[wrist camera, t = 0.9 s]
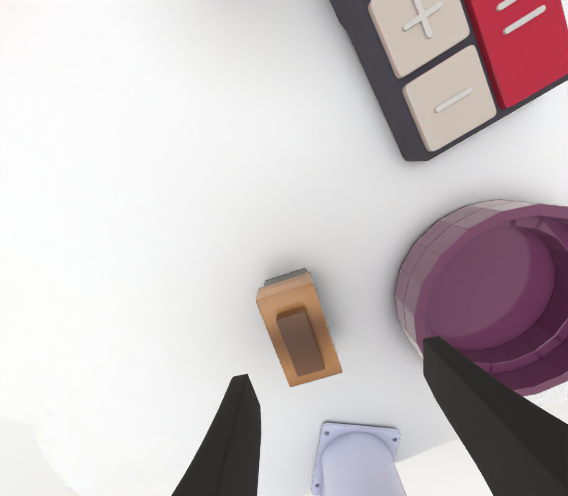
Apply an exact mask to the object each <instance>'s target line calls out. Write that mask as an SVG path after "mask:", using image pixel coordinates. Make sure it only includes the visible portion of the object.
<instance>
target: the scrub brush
mask: <svg viewBox="0 0 568 496" xmlns="http://www.w3.org/2000/svg"><path fill="white" fill-rule="evenodd" d="M256 303H257V305H258V308H259V310H260V313H261V315H262V318H263V320H264V323H265V325H266V328H267V331H268V333H269V336H270V338H271V341H272V343H273V346H274V348H275V351H276V353H277V356H278V358H279V361H280V363H281V366H282V368H283V371H284V373H285V376H286V378H287V381H288V383H289V386H290V387H293V386H297V385H300V384H304V383H307V382H311V381H314V380H318V379H321V378H325V377H328V376H332V375H335V374H339V373H342V368H341V365H340V362H339V358H338V355H337V352H336V349H335V346H334V343H333V340H332V337H331V334H330V331H329V328H328V325H327V322H326V319H325V316H324V313H323V310H322V307H321V304H320V301H319V298H318V295H317V292H316V289H315V286H314V283H313V280H312V277H311V274H310V273H307V271H306V268H304V269H301V270H297V271H294V272H291V273H288V274H285V275H282V276H279V277H276V278H273V279H269V280H266V281H265V285H264V287H262V288H259V290H258V294H257V298H256Z"/></svg>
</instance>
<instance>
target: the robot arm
mask: <svg viewBox="0 0 568 496" xmlns="http://www.w3.org/2000/svg"><path fill="white" fill-rule="evenodd" d="M423 372H424V376H425V379H426V381H427V383H428V385H429V387H430V389H431V391H432V393H433V395H434V397H435V399H436V401H437V403H438V404H439V406H440V408H441V409H442V411H443V412H444V414H445V416H446V417H447V419H448V420H449V422H450V424H451V425H452V427H453V428H454V430H455V432H456V433H457V435H458V436H459V438H460V440H461V441H462V443H463V444H464V446H465V447H466V449H467V451H468V452H469V454H470V455H471V457H472V459H473V460H474V462H475V463H476V465H477V467H478V469H479V470H480V472H481V474H482V475H483V477H484V479H485V481H486V483H487V485H488V486H489V488H490V490H491V492H492V494H493V496H568V424H566V423H565V422H563V421H561V420H560V419H558V418H556V417H555V416H553V415H551V414H549V413H548V412H546V411H545V410H543V409H541V408H540V407H538V406H537V405H535V404H533V403H532V402H530V401H529V400H527V399H526V398H524V397H523V396H521V395H520V394H518V393H516V392H515V391H513V390H512V389H510V388H509V387H508V386H506V385H505V384H503V383H502V382H500V381H499V380H497V379H496V378H495V377H493V376H492V375H490V374H489V373H488V372H486V371H485V370H483V369H482V368H481V367H479V366H478V365H477V364H475V363H474V362H473V361H471V360H470V359H469V358H467V357H466V356H465V355H463V354H462V353H461V352H459V351H458V350H457V349H455V348H454V347H453V346H452V345H450V344H449V343H448V342H446V341H445V340H444V339H443V338H441V337H440V336H434V337H429V338H424V339H423ZM326 431H328V432H326ZM399 439H400V432H399V430H397V429H392V428H381V427H370V426H359V425H348V424H338V423H324V424H323V426H322V431H321V437H320V442H319V448H318V454H317V460H316V465H315V471H314V477H313V483H312V488H311V489H312V494H313V495H316V496H406V493H405V491H404V488H403V485H402V482H401V480H400V477H399V475H398V472H397V470H396V467H395V464H394V458H395V454H396V451H397V447H398V443H399ZM260 445H261V411H260V404H259V401H258V399H257V396H256V394H255V391H254V389H253V386H252V384H251V381H250V379H249V376H248V374H244V375H239V376H234V377H233V378H232V379H231V381H230V384H229V386H228V389H227V391H226V393H225V396H224V398H223V400H222V402H221V405H220V407H219V409H218V411H217V413H216V415H215V418H214V420H213V422H212V424H211V426H210V428H209V430H208V432H207V434H206V436H205V438H204V440H203V442H202V444H201V445H200V447H199V449H198V451H197V453H196V455H195V457H194V459H193V460H192V462H191V464H190V466H189V467H188V469H187V471H186V473H185V474H184V476H183V478H182V479H181V481H180V483H179V484H178V486H177V487H176V489H175V491H174V492H173V494H172V495H171V496H257V487H258V473H259V459H260Z"/></svg>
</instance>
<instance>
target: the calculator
mask: <svg viewBox="0 0 568 496" xmlns="http://www.w3.org/2000/svg"><path fill="white" fill-rule="evenodd" d="M330 1H331V3H332V5H333V8H334V10H335V12H336V14H337V17H338V19H339V21H340V23H341V24H342V25H343V27H344V28H345V29H346V30H347V32H348V33H349V35H350V38H351V40H352V42H353V44H354V47H355V49H356V51H357V53H358V56H359V58H360V60H361V62H362V65H363V67H364V69H365V71H366V74H367V76H368V78H369V81H370V83H371V85H372V87H373V90H374V92H375V94H376V96H377V99H378V101H379V103H380V105H381V108H382V110H383V112H384V114H385V117H386V119H387V121H388V123H389V126H390V128H391V130H392V132H393V135H394V137H395V139H396V141H397V144H398V146H399V148H400V150H401V153H402V155H403V157H404V159H405V160H406V161H428V160H430V159H432V158H434V157H435V156H437V155H439V154H440V153H442V152H444V151H446V150H447V149H449V148H451V147H453V146H454V145H456V144H458V143H460V142H461V141H463V140H465V139H466V138H468V137H470V136H472V135H473V134H475V133H477V132H479V131H480V130H482V129H484V128H485V127H487V126H489V125H491V124H492V123H494V122H496V121H498V120H499V119H501V118H503V117H504V116H506V115H508V114H510V113H511V112H513V111H515V110H517V109H518V108H520V107H522V106H524V105H525V104H527V103H529V102H530V101H532V100H534V99H536V98H537V97H539V96H541V95H543V94H544V93H546V92H548V91H549V90H551V89H553V88H555V87H556V86H558V85H560V84H562V83H563V82H565V81H567V80H568V28H567V24H566V20H565V16H564V11H563V7H562V3H561V0H330Z"/></svg>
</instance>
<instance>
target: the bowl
mask: <svg viewBox="0 0 568 496" xmlns="http://www.w3.org/2000/svg"><path fill="white" fill-rule="evenodd" d="M395 302H396V310H397V318H398V321H399V323H400V325H401V327H402V329H403V331H404V332H405V334H406V336H407V338H408V340H409V341H410V343H411V344H412V345H413V347H414V348H415V349H416V351H417V352H418V353H419V355H420V356H421V357H422V359H423V339H424V338H429V337H434V336H440V337H441V338H443V339H444V340H445V341H446V342H448V343H449V344H450V345H452V346H453V347H454V348H455V349H457V350H458V351H459V352H461V353H462V354H463V355H465V356H466V357H467V358H469V359H470V360H471V361H473V362H474V363H475V364H477V365H478V366H479V367H481V368H482V369H483V370H485V371H486V372H488V373H489V374H490V375H492V376H493V377H495V378H496V379H497V380H499V381H500V382H502V383H503V384H505V385H506V386H508V387H509V388H510V389H512V390H513V391H515V392H516V393H518V394H520V395H521V396H528V395H534V394H538V393H541V392H543V391H545V390H548V389H550V388H552V387H555V386H557V385H560V384H562V383H564V382H567V381H568V207H565V206H556V205H547V204H538V203H529V202H519V201H509V200H500V199H498V200H492V201H487V202H482V203H477V204H472V205H467V206H465V207H463V208H461V209H459V210H457V211H455V212H454V213H452V214H450V215H448V216H446V217H444V218H442V219H440V220H438V221H437V222H436V223H435V224H434V225H433V226H432V227H431V228H430V229H429V230H428V231H427V232H426V233H425V234H424V235H423V236H421V237H420V238H419V239H418V240H417V241H416V243H415V244H414V245H413V247H412V249H411V250H410V252H409V254H408V256H407V257H406V259H405V261H404V263H403V264H402V266H401V268H400V272H399V276H398V281H397V286H396V290H395Z"/></svg>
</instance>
